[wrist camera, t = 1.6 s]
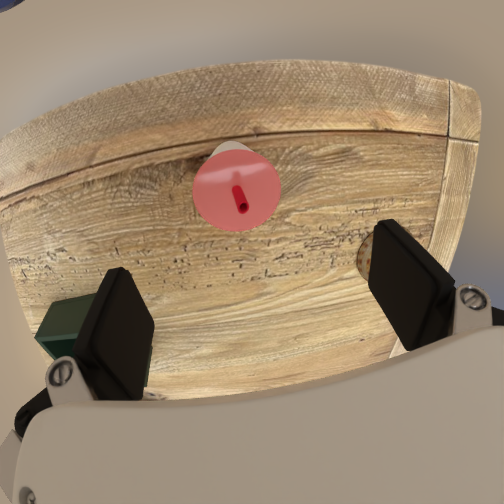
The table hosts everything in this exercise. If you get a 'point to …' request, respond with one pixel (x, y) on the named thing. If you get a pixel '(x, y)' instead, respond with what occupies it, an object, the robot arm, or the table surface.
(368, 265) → the seashell
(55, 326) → the bin
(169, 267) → the table surface
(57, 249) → the table surface
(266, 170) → the cup
